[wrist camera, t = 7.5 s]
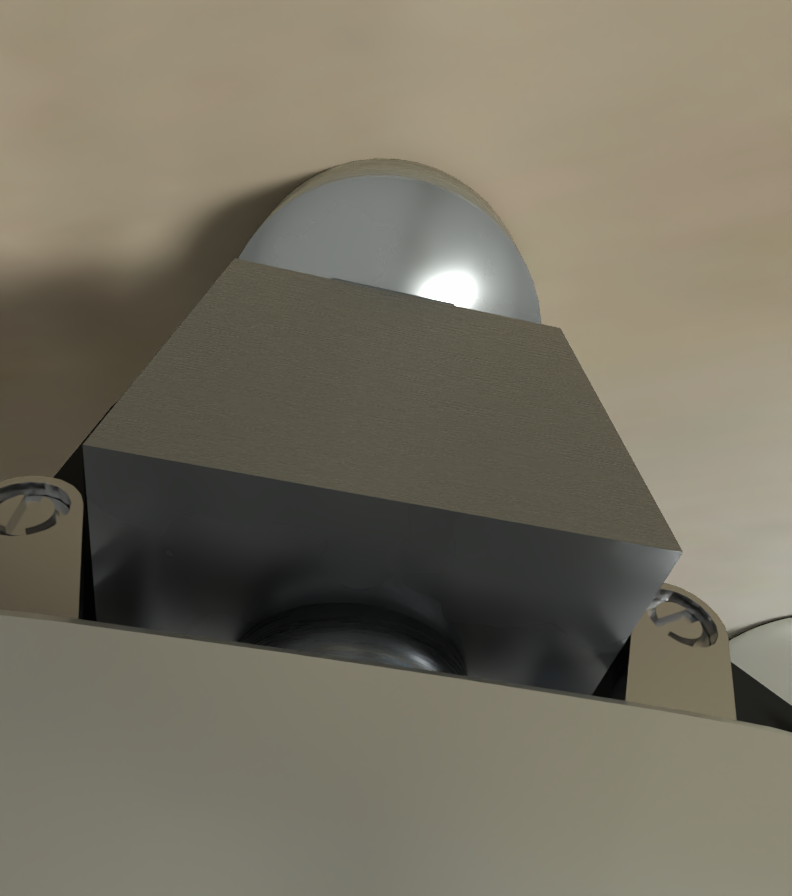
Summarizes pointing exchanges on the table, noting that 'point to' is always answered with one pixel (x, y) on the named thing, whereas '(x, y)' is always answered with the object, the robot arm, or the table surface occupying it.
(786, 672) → the mug
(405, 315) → the cube with domed knob
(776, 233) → the table surface
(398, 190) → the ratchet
